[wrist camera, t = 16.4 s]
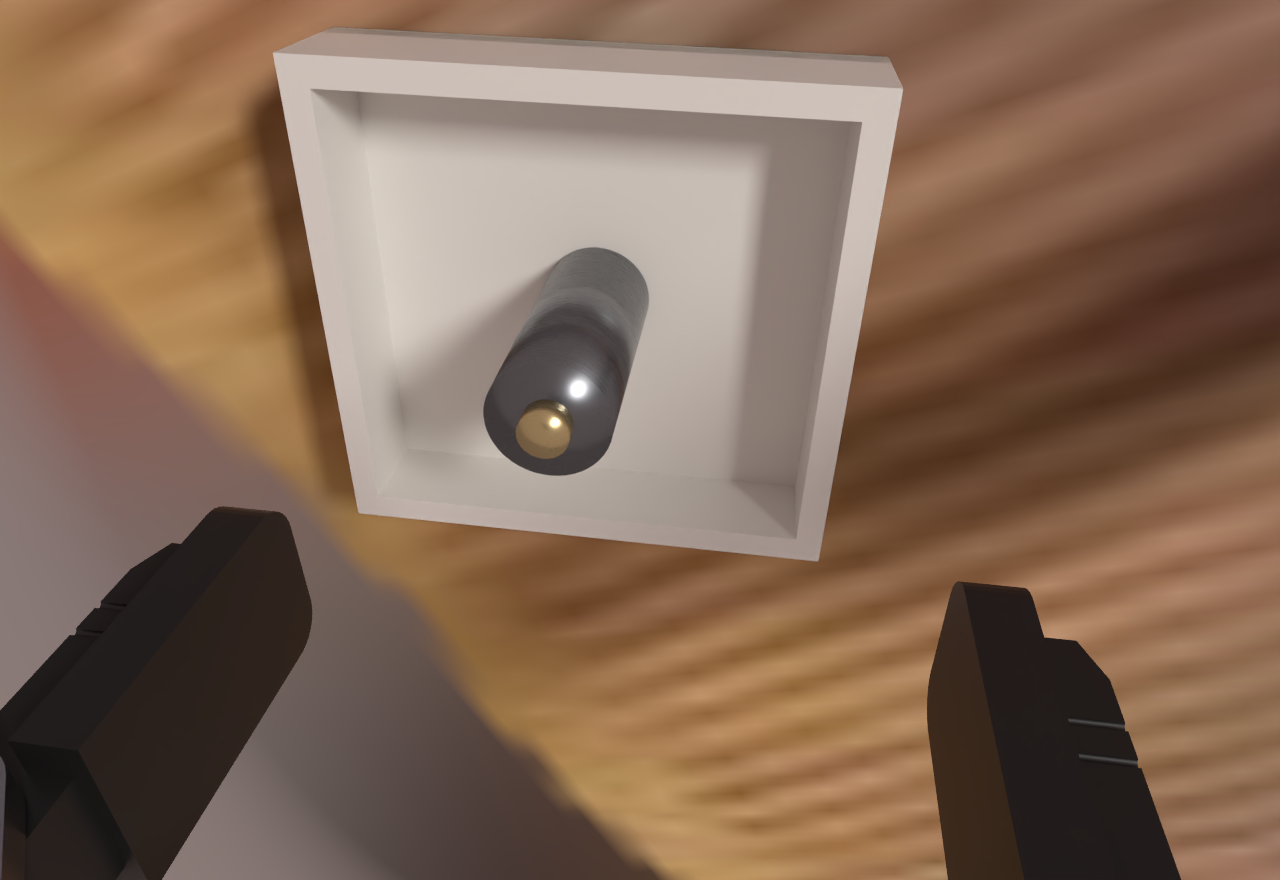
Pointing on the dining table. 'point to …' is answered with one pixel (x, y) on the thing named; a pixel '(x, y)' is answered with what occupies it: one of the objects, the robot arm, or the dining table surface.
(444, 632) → the dining table surface
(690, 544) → the white square tray
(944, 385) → the dining table surface
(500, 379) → the cell
